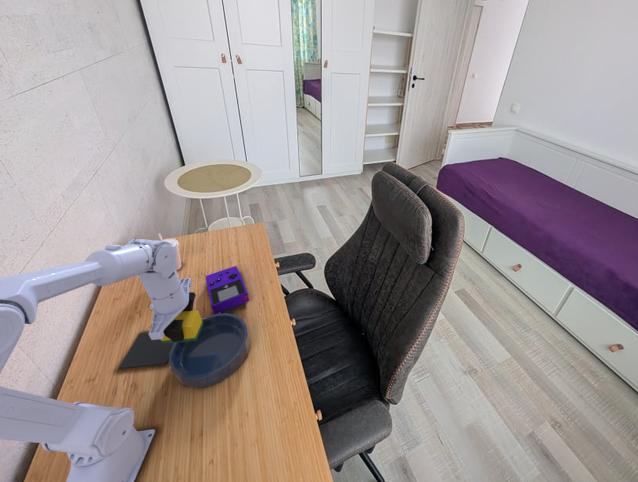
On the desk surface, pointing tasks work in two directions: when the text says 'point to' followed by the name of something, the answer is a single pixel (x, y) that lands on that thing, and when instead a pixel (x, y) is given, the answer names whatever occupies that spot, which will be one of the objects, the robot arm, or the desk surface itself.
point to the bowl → (211, 351)
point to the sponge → (188, 326)
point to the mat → (146, 352)
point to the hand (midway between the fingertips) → (183, 330)
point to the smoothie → (175, 244)
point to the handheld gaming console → (226, 290)
